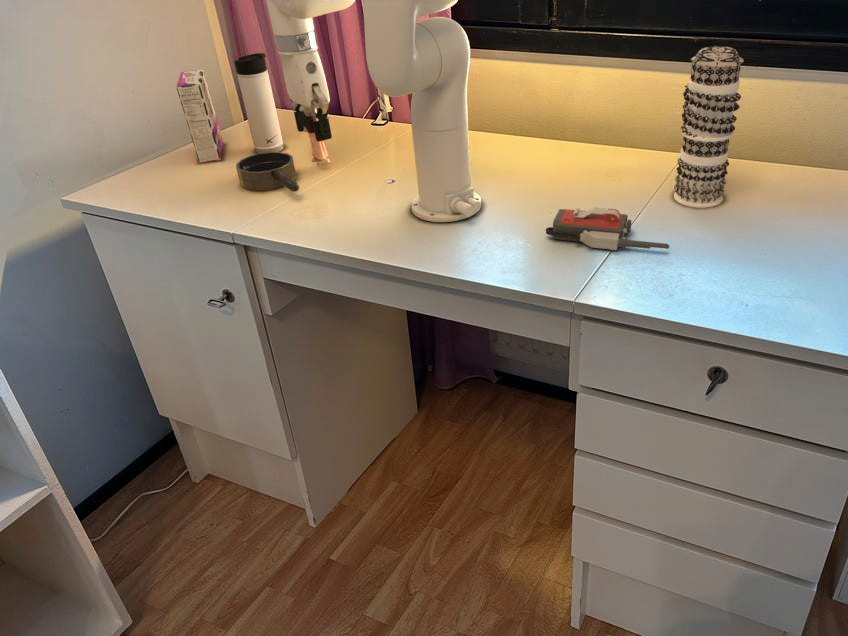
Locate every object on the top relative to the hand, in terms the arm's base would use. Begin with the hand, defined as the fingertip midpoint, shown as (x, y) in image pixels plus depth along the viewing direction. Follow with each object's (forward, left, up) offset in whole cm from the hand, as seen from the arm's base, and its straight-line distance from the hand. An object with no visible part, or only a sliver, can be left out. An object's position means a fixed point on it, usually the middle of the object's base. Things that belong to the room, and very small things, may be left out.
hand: (314, 134), depth 147 cm
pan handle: (-9, +11, -5) cm, 15 cm away
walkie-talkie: (-62, -21, -7) cm, 66 cm away
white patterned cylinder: (-61, -44, -7) cm, 76 cm away
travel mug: (+18, +4, -7) cm, 19 cm away
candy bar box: (+25, +15, -7) cm, 30 cm away
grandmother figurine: (0, 0, -6) cm, 6 cm away
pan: (+1, +11, -7) cm, 13 cm away
